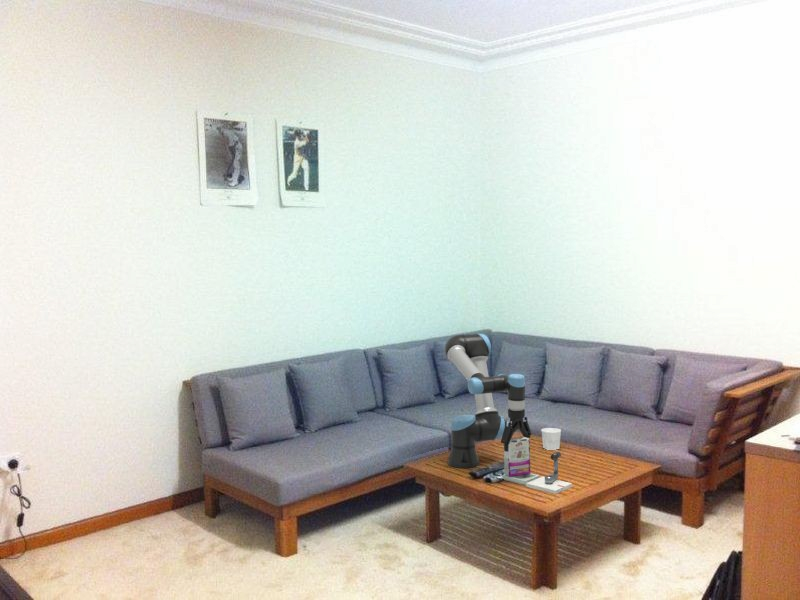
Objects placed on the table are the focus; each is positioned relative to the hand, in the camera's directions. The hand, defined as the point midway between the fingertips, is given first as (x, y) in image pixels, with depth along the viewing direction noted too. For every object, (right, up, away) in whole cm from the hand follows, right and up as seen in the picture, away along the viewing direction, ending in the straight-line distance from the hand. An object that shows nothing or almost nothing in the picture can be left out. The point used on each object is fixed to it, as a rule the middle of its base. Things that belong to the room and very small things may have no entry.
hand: (516, 454), depth 328 cm
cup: (+26, -8, +49) cm, 56 cm away
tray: (0, -11, 0) cm, 11 cm away
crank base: (+12, -12, -12) cm, 21 cm away
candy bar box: (0, -9, 0) cm, 9 cm away
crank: (+15, -9, -9) cm, 20 cm away
